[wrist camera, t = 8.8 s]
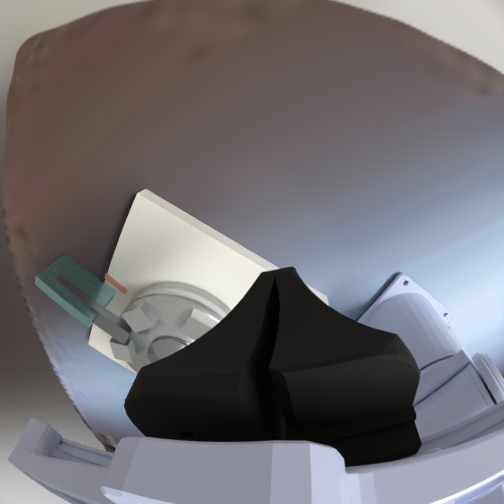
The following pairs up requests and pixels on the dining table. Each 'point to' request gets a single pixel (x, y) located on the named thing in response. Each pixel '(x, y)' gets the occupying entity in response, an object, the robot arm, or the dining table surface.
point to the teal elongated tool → (134, 312)
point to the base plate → (175, 260)
